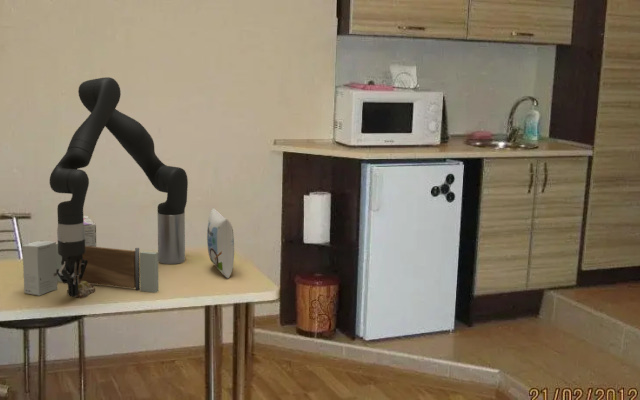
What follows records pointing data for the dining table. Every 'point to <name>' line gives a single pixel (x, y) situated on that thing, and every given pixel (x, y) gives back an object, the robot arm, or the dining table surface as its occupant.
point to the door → (110, 267)
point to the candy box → (89, 232)
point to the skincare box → (39, 267)
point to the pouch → (220, 242)
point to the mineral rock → (84, 289)
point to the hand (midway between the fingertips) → (73, 295)
